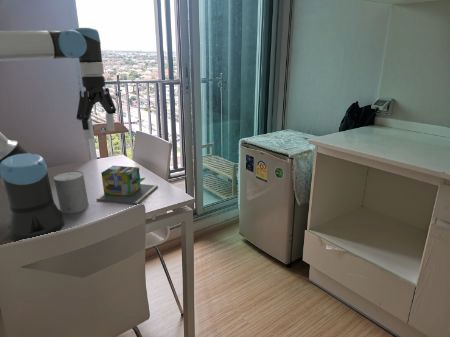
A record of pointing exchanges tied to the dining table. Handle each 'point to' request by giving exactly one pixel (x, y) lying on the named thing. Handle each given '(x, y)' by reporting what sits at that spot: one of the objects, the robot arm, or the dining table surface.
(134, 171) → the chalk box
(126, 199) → the mat
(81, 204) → the grey cylinder
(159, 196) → the dining table surface
